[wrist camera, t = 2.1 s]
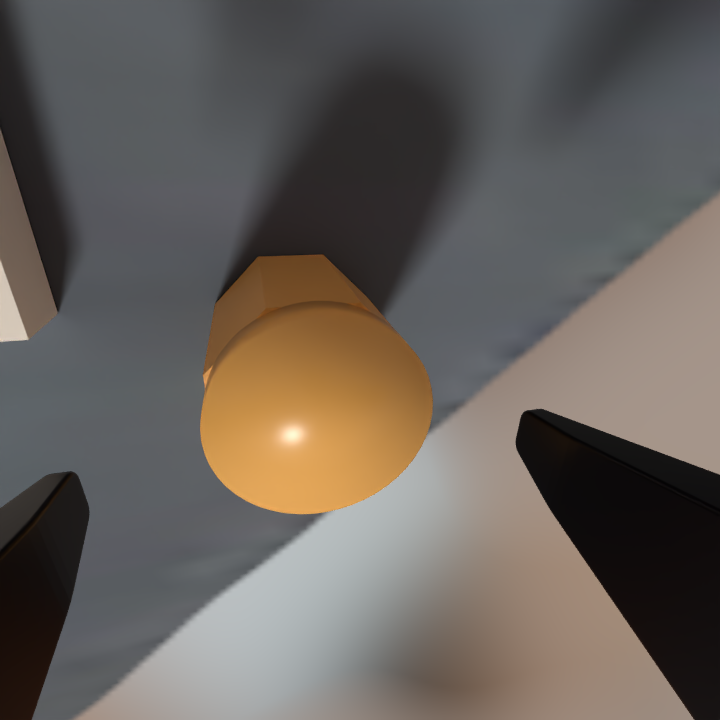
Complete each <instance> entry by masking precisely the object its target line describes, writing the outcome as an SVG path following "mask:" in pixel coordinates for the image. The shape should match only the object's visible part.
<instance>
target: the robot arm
mask: <svg viewBox="0 0 720 720" xmlns="http://www.w3.org/2000/svg"><path fill="white" fill-rule="evenodd" d="M516 448H517V451H518V453H519V455H520V457H521V458H522V460H523V462H524V464H525V466H526V467H527V469H528V471H529V473H530V475H531V476H532V478H533V480H534V482H535V484H536V486H537V487H538V489H539V491H540V493H541V494H542V496H543V498H544V500H545V502H546V503H547V505H548V507H549V508H550V510H551V511H552V513H553V515H554V516H555V518H556V519H557V520H558V522H559V524H560V525H561V526H562V528H563V529H564V531H565V532H566V534H567V535H568V536H569V538H570V539H571V541H572V542H573V544H574V545H575V547H576V548H577V550H578V551H579V553H580V554H581V556H582V557H583V558H584V560H585V561H586V563H587V564H588V566H589V567H590V569H591V570H592V571H593V573H594V574H595V576H596V577H597V579H598V580H599V582H600V583H601V585H602V586H603V588H604V589H605V590H606V592H607V593H608V595H609V596H610V598H611V599H612V600H613V602H614V604H615V605H616V606H617V608H618V609H619V611H620V612H621V614H622V615H623V617H624V618H625V620H626V621H627V622H628V624H629V625H630V627H631V628H632V630H633V631H634V633H635V634H636V636H637V637H638V638H639V640H640V641H641V643H642V644H643V646H644V647H645V649H646V650H647V652H648V653H649V655H650V656H651V657H652V659H653V660H654V662H655V663H656V665H657V666H658V667H659V669H660V671H661V672H662V673H663V675H664V676H665V678H666V679H667V681H668V682H669V684H670V685H671V687H672V688H673V690H674V691H675V692H676V694H677V695H678V697H679V698H680V700H681V701H682V703H683V704H684V705H685V707H686V708H687V710H688V711H689V713H690V714H691V716H692V717H693V719H694V720H720V475H719V474H716V473H713V472H711V471H708V470H705V469H703V468H700V467H697V466H695V465H692V464H689V463H687V462H684V461H681V460H679V459H676V458H673V457H671V456H668V455H665V454H662V453H660V452H657V451H654V450H651V449H649V448H646V447H644V446H641V445H638V444H635V443H633V442H630V441H627V440H624V439H622V438H619V437H616V436H614V435H611V434H608V433H606V432H603V431H600V430H598V429H595V428H592V427H589V426H587V425H584V424H581V423H578V422H576V421H573V420H571V419H568V418H565V417H563V416H560V415H557V414H554V413H552V412H549V411H546V410H544V409H535V410H527V411H525V412H523V414H522V415H521V419H520V423H519V428H518V432H517V436H516ZM88 521H89V505H88V502H87V499H86V497H85V494H84V491H83V488H82V485H81V482H80V479H79V477H78V475H77V474H76V473H74V472H72V471H69V472H62V473H54V474H49V475H46V476H45V477H43V478H42V479H40V480H39V481H38V482H36V483H35V484H33V485H32V486H31V487H29V488H28V489H26V490H25V491H24V492H22V493H21V494H19V495H18V496H17V497H15V498H14V499H12V500H11V501H10V502H8V503H7V504H5V505H4V506H3V507H1V508H0V720H32V717H33V714H34V711H35V709H36V706H37V703H38V700H39V697H40V694H41V691H42V688H43V685H44V682H45V679H46V676H47V673H48V670H49V667H50V664H51V661H52V658H53V655H54V652H55V649H56V646H57V643H58V640H59V637H60V634H61V631H62V628H63V625H64V622H65V619H66V616H67V613H68V610H69V606H70V603H71V599H72V595H73V591H74V587H75V582H76V577H77V572H78V568H79V563H80V558H81V554H82V549H83V544H84V540H85V535H86V530H87V526H88Z"/></svg>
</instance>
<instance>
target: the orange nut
mask: <svg viewBox="0 0 720 720" xmlns="http://www.w3.org/2000/svg"><path fill="white" fill-rule="evenodd" d="M203 377H204V383H205V393H204V400H203V406H202V413H201V425H200V431H201V442H202V446H203V449H204V453H205V456H206V458H207V460H208V462H209V465H210V467H211V468H212V470H213V471H214V473H215V474H216V476H217V477H218V478H219V479H220V480H221V481H222V483H223V484H224V485H225V486H226V487H227V488H229V489H230V490H231V491H232V492H234V493H235V494H236V495H238V496H239V497H241V498H243V499H244V500H246V501H248V502H250V503H252V504H254V505H257V506H259V507H262V508H265V509H269V510H272V511H277V512H283V513H292V514H314V513H322V512H328V511H333V510H337V509H341V508H344V507H347V506H350V505H353V504H355V503H357V502H360V501H362V500H364V499H366V498H368V497H370V496H372V495H374V494H375V493H377V492H379V491H380V490H382V489H383V488H384V487H386V486H387V485H389V484H390V483H391V482H392V481H393V480H394V479H396V478H397V477H398V476H399V475H400V474H401V473H402V472H403V471H404V470H405V469H406V468H407V467H408V465H409V464H410V463H411V462H412V460H413V459H414V458H415V456H416V454H417V453H418V451H419V450H420V448H421V446H422V444H423V442H424V440H425V438H426V435H427V432H428V429H429V426H430V422H431V417H432V408H433V397H432V388H431V384H430V381H429V377H428V374H427V372H426V370H425V368H424V365H423V364H422V362H421V361H420V359H419V358H418V356H417V354H416V353H415V352H414V351H413V350H412V349H411V347H410V346H409V345H408V344H407V343H406V342H405V340H404V339H403V338H402V337H401V336H400V335H399V334H398V332H397V331H396V330H395V329H394V328H393V327H392V326H391V325H390V323H389V322H388V321H387V320H386V319H385V318H384V316H383V315H382V314H381V313H380V312H379V311H378V309H377V308H376V307H375V306H374V305H373V304H372V302H371V301H370V300H369V299H368V298H367V297H366V295H364V294H363V293H362V292H361V291H360V290H359V289H358V288H357V287H356V286H355V285H354V284H353V283H352V282H351V281H350V280H349V279H348V278H347V277H346V276H345V275H344V274H343V273H342V272H341V271H340V270H339V269H337V268H336V267H335V266H334V265H333V264H332V263H331V262H330V261H329V260H328V259H327V258H326V257H325V256H324V255H323V254H322V255H292V256H260V257H259V256H258V257H257V258H256V259H255V261H254V262H253V263H252V264H251V265H250V266H249V267H248V268H247V269H246V270H245V272H244V273H243V274H242V275H241V276H240V277H239V278H238V279H237V280H236V282H235V283H234V284H233V285H232V286H231V287H230V288H229V289H228V290H227V291H226V293H225V294H224V295H223V296H222V297H221V298H220V299H219V300H218V301H217V302H216V303H215V308H214V314H213V319H212V325H211V331H210V337H209V343H208V349H207V354H206V360H205V366H204V372H203Z"/></svg>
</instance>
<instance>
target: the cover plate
mask: <svg viewBox="0 0 720 720" xmlns="http://www.w3.org/2000/svg"><path fill="white" fill-rule="evenodd" d="M57 314H58V312H57V309H56V306H55V303H54V300H53V296H52V293H51V290H50V287H49V283H48V280H47V277H46V274H45V271H44V267H43V264H42V261H41V258H40V255H39V251H38V248H37V245H36V242H35V238H34V235H33V232H32V229H31V226H30V222H29V219H28V216H27V213H26V210H25V206H24V203H23V200H22V197H21V193H20V190H19V187H18V184H17V181H16V177H15V174H14V171H13V168H12V164H11V161H10V158H9V155H8V152H7V148H6V145H5V142H4V139H3V136H2V132H1V129H0V342H1V341H16V340H29V339H30V338H31V337H32V336H33V335H34V334H35V333H37V332H38V331H39V330H40V329H41V328H42V327H43V326H44V325H46V324H47V323H48V322H49V321H50V320H51V319H52V318H53V317H55V316H56V315H57Z"/></svg>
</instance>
